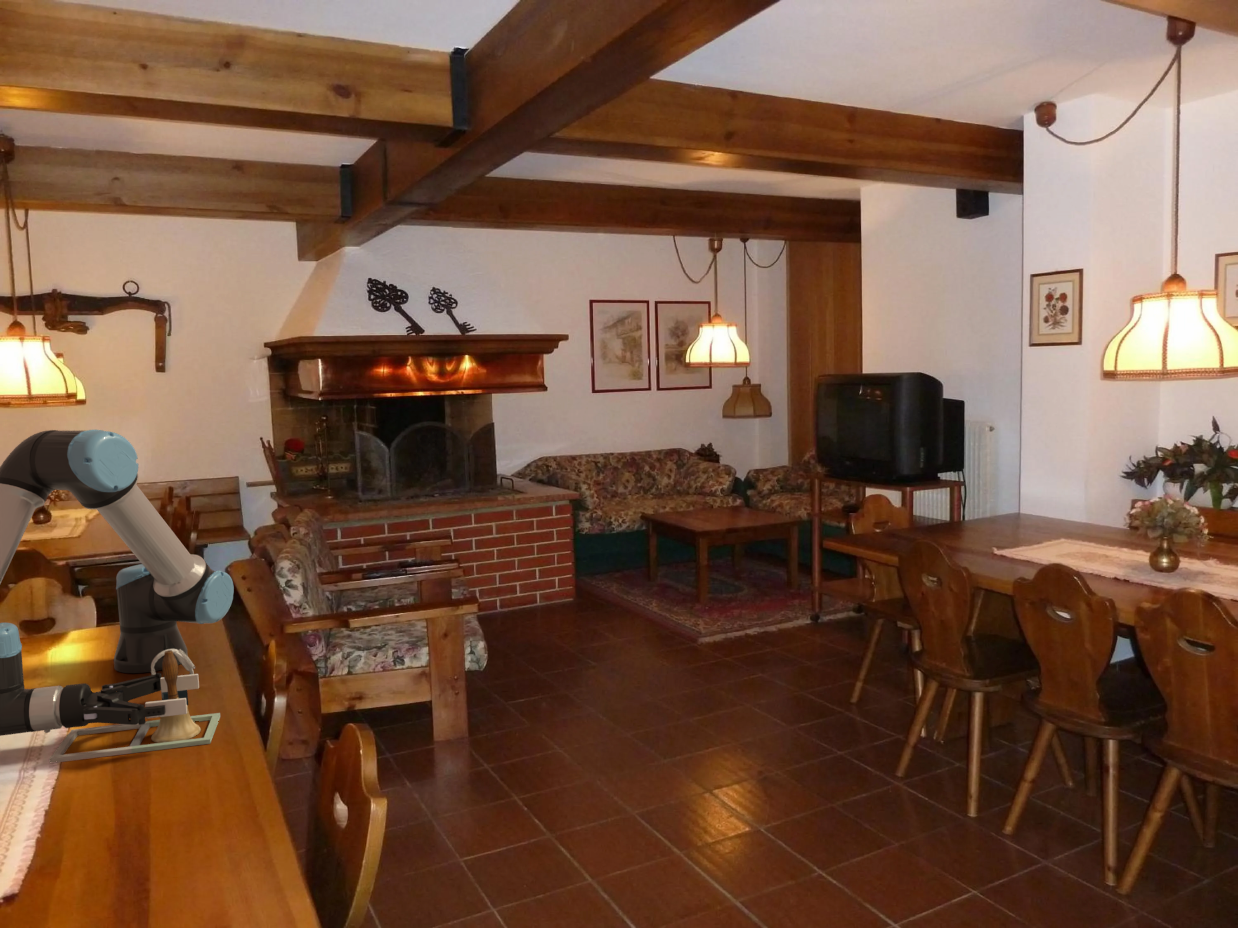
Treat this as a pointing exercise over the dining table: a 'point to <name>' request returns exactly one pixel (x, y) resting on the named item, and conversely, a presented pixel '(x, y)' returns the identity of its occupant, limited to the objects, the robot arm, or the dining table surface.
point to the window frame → (136, 742)
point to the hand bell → (176, 724)
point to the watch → (186, 664)
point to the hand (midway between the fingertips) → (192, 692)
